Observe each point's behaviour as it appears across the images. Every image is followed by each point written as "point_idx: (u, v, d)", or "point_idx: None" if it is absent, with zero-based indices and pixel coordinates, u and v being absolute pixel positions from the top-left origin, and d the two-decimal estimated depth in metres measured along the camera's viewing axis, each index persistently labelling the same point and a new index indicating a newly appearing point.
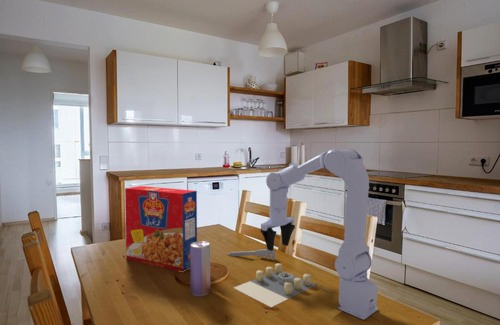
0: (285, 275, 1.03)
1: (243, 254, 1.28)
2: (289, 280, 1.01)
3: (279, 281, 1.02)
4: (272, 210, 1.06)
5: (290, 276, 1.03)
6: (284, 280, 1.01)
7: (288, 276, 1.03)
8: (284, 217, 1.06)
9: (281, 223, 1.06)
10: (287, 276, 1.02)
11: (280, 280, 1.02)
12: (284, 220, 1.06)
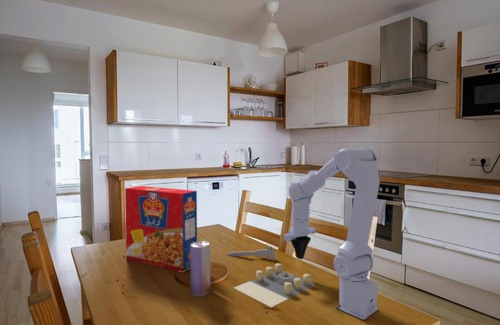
0: (285, 275, 1.03)
1: (243, 254, 1.28)
2: (289, 280, 1.01)
3: (279, 281, 1.02)
4: (295, 221, 1.05)
5: (290, 276, 1.03)
6: (284, 280, 1.01)
7: (288, 276, 1.03)
8: (307, 228, 1.05)
9: (304, 234, 1.05)
10: (287, 276, 1.02)
11: (280, 280, 1.02)
12: (307, 231, 1.05)
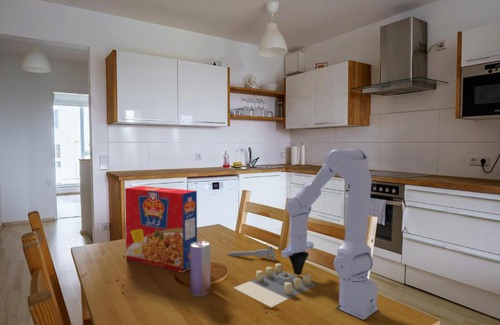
0: (285, 275, 1.03)
1: (243, 254, 1.28)
2: (289, 280, 1.01)
3: (279, 281, 1.02)
4: (292, 237, 1.05)
5: (290, 276, 1.03)
6: (284, 280, 1.01)
7: (288, 276, 1.03)
8: (304, 243, 1.05)
9: (302, 250, 1.04)
10: (287, 276, 1.02)
11: (280, 280, 1.02)
12: (304, 246, 1.05)
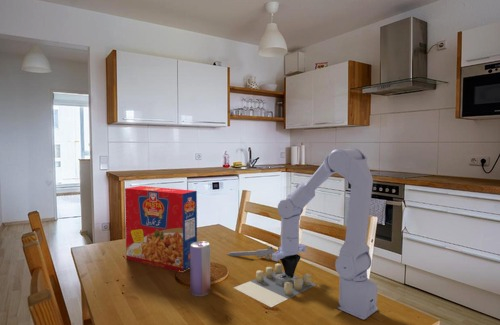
0: (283, 276, 1.02)
1: (243, 254, 1.28)
2: (287, 281, 1.01)
3: (277, 282, 1.01)
4: (284, 239, 1.02)
5: (288, 277, 1.02)
6: (282, 281, 1.00)
7: (286, 277, 1.02)
8: (296, 246, 1.02)
9: (293, 253, 1.01)
10: (285, 277, 1.02)
11: (277, 280, 1.01)
12: (296, 249, 1.02)
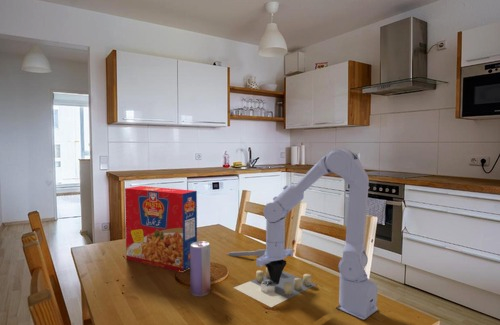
0: (268, 282, 0.98)
1: (243, 254, 1.28)
2: (273, 288, 0.96)
3: (262, 289, 0.96)
4: (269, 244, 0.97)
5: (274, 283, 0.97)
6: (267, 288, 0.95)
7: (272, 283, 0.97)
8: (282, 251, 0.97)
9: (278, 258, 0.97)
10: (271, 283, 0.97)
11: (263, 287, 0.96)
12: (282, 254, 0.97)
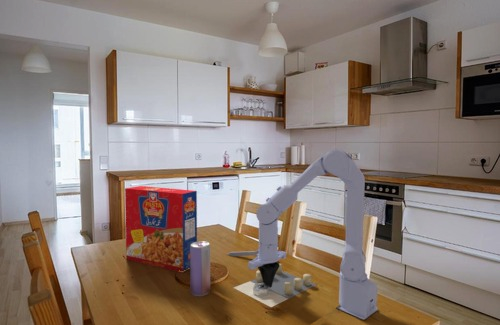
0: (261, 286, 0.95)
1: (243, 254, 1.28)
2: (265, 291, 0.93)
3: (254, 292, 0.94)
4: (261, 246, 0.95)
5: (266, 287, 0.95)
6: (260, 291, 0.93)
7: (264, 287, 0.95)
8: (274, 254, 0.95)
9: (271, 261, 0.94)
10: (263, 287, 0.95)
11: (255, 291, 0.94)
12: (274, 257, 0.95)
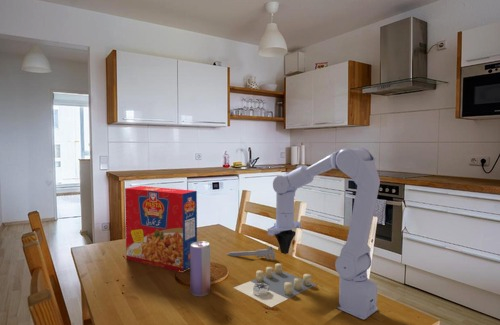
0: (261, 286, 0.95)
1: (242, 254, 1.28)
2: (265, 291, 0.93)
3: (254, 292, 0.94)
4: (279, 215, 1.03)
5: (266, 287, 0.95)
6: (260, 291, 0.93)
7: (264, 287, 0.95)
8: (291, 222, 1.03)
9: (288, 228, 1.02)
10: (263, 287, 0.95)
11: (255, 291, 0.94)
12: (291, 225, 1.03)
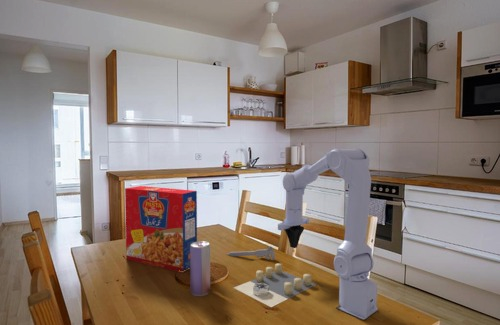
0: (261, 286, 0.95)
1: (242, 254, 1.28)
2: (265, 291, 0.93)
3: (254, 292, 0.94)
4: (288, 211, 1.09)
5: (266, 287, 0.95)
6: (260, 291, 0.93)
7: (264, 287, 0.95)
8: (300, 217, 1.09)
9: (297, 223, 1.08)
10: (263, 287, 0.95)
11: (255, 291, 0.94)
12: (300, 220, 1.09)
